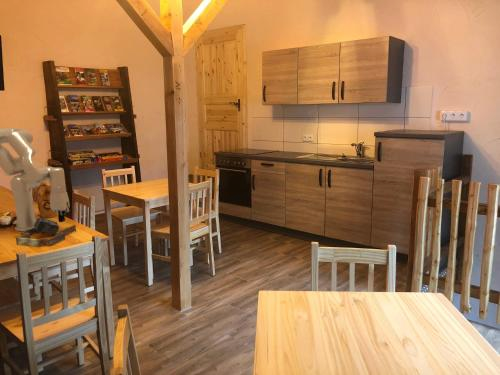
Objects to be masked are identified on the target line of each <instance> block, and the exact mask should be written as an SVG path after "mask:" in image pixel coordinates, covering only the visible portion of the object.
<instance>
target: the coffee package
mask: <svg viewBox="0 0 500 375" xmlns="http://www.w3.org/2000/svg"><path fill="white" fill-rule="evenodd" d="M50 193H51V189H50V188H49V187H48V186H47V181H43V182H41V184H40V186H39V189H38V191H37V207H38V213H39V215H40V216H41V218H44V219H47V218H48V219H49V218H55V216H57V213H56V212H55V211H53V210H52V209H51V208H50Z"/></svg>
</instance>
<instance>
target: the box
mask: <svg viewBox="0 0 500 375" xmlns="http://www.w3.org/2000/svg"><path fill="white" fill-rule="evenodd" d="M34 226H35V229H36V230H37V231H40V232H44V233H45V234H47V235H51V236H53V237H55V236H56V232H59V229H60V226H59V224H58V222H57V221H54V220H51V219H49V218H48V219H47V218H43V217H42V216H41V217H40V216H37V218H36V222H35V224H34Z"/></svg>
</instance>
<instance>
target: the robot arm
mask: <svg viewBox="0 0 500 375" xmlns="http://www.w3.org/2000/svg"><path fill="white" fill-rule="evenodd" d="M33 136H34V135H33V134H32V133H31V132H30V131H29V130H27V129H20V128H14V127H6V128H5V127H4V128H3V127H1V128H0V169H1V170H2V172H3V173H4V174H5V175H7V176H13V177H12V178H11V180H10V182H9V185H10V188H11V191H12V192H11V193H12V195H13V199H14V206H15V207H14V208H15V214H16V219H15V220H14V221H13V222H12V224H13V225H15V227H14V230H15V231H17V232H24V231H26V230H29V229H32V228H34V227H35V226H34V224H35V222H36V220H37V218H36V212H35V205H34V198H33V195H32V192H30V190H34V189H36V188H39V187H41V185H42V184H41V182H47V181H49V182H50V188H49V190H50V192H51V193H50V208H51V209H52V210H53V211H55V212H56V216H57V219H58V220H57V221H58V223H64V222H65V221H66V217H65V216H66V213H69V212H70V199H69V195H68V192H67V186H66V179H65V178H66V177H65V171H64V168H63V167H55V166H54V167H53V166H43V167H40V168H37V167H36V166H35V164H34V163H33V162H32V158H33V157H34V156H35V154H36V152H37V151H36V149H35V147H33V145H32V143H33V140H34V137H33ZM3 144H9V146H10V147H11V148H12V149H13V150H14V151H15V153H16V154H17V155H18V156H19V157H14V156H13V155H12V153H11V152H10V151H9V149H8V148H6V147H5V146H3Z"/></svg>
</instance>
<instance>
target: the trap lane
mask: <svg viewBox="0 0 500 375" xmlns="http://www.w3.org/2000/svg"><path fill="white" fill-rule="evenodd" d="M74 231H75V232H76V231H77V226H76V224H74V225H73V224H72V225H71V226H68V227H66V228H63V229H61V230H58V231H57V232H56V235H55V236H52V237H50V238H45V237H43V238H40V239H37V238H32V237H31V236H35V235H36V234H37V235H38V234H39V235H40V234H41V235H45V234H46V233H44V232H40V231H37V230H36V229H35V227H34V228H32V229H29V230H26V231H20V236H19V235H18V236H17V237H15V242H16V245H19V246H21V245H22V246H29V247H37V248H41V247H44V246H45V247H46V246H48V247H51V246H53V245H56V244H58V243H60V242H62V241H65V240H66V236H68V235H71V234H73V233H75V232H74ZM72 232H73V233H72ZM70 233H71V234H70Z"/></svg>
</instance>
